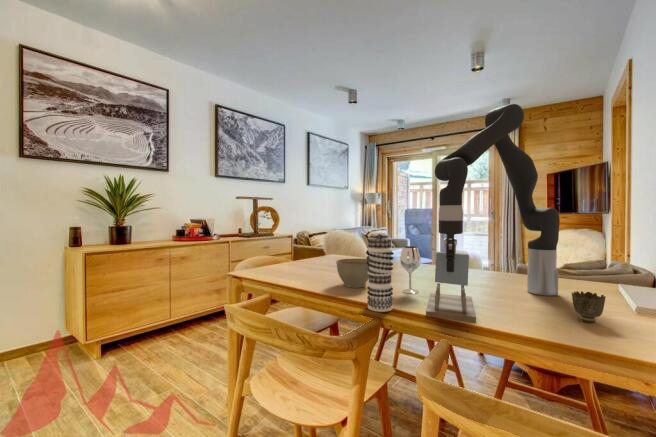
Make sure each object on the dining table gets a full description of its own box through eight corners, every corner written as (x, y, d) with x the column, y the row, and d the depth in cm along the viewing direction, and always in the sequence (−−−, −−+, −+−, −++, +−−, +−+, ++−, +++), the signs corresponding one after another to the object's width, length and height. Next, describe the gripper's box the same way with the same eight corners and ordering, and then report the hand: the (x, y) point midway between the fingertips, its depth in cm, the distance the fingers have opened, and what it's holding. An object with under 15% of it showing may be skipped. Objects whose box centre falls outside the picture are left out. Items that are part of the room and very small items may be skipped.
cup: (564, 317, 91) (565, 291, 90) (587, 316, 91) (587, 290, 91) (588, 326, 83) (588, 298, 83) (612, 325, 84) (612, 297, 84)
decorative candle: (377, 314, 95) (376, 235, 94) (361, 305, 103) (360, 233, 103) (399, 309, 99) (399, 234, 99) (382, 301, 107) (382, 232, 107)
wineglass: (421, 294, 116) (421, 248, 116) (400, 293, 118) (400, 248, 117) (419, 289, 124) (419, 246, 124) (399, 288, 126) (399, 245, 125)
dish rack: (430, 296, 113) (430, 281, 113) (471, 300, 108) (471, 284, 108) (425, 316, 93) (425, 296, 93) (476, 321, 87) (476, 301, 87)
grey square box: (435, 280, 103) (436, 251, 103) (467, 284, 99) (468, 254, 99) (434, 282, 101) (436, 252, 100) (467, 285, 97) (469, 255, 97)
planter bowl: (379, 283, 134) (378, 259, 134) (363, 292, 121) (363, 265, 120) (347, 279, 143) (347, 257, 143) (329, 287, 129) (329, 262, 129)
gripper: (463, 219, 92) (463, 276, 92) (462, 218, 105) (461, 268, 105) (437, 219, 95) (437, 274, 95) (439, 218, 107) (439, 266, 108)
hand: (450, 270), depth 100 cm, fingers closed on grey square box, 2 cm apart
